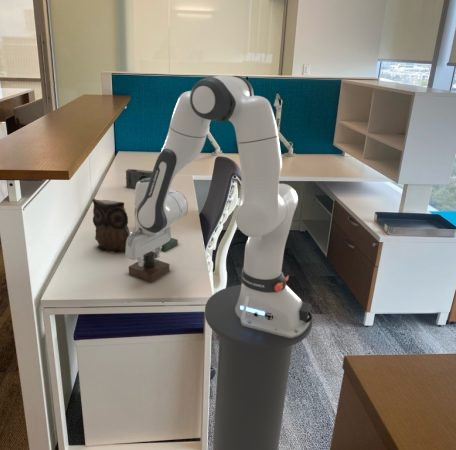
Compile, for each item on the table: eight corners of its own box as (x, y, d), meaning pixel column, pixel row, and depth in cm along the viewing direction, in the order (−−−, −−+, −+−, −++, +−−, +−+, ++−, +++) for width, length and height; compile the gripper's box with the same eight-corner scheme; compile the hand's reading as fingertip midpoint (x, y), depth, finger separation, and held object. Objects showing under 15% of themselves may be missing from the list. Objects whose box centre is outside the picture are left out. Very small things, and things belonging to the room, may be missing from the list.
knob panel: (169, 271, 157) (169, 263, 156) (151, 282, 149) (151, 274, 148) (147, 263, 162) (147, 255, 161) (128, 274, 154) (128, 266, 153)
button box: (177, 244, 178) (177, 235, 177) (165, 251, 172) (165, 242, 170) (158, 238, 183) (158, 229, 181) (145, 244, 177) (145, 235, 175)
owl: (132, 252, 170) (131, 202, 163) (99, 257, 165) (96, 206, 158) (123, 239, 181) (122, 192, 173) (92, 243, 176) (89, 195, 168)
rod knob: (157, 264, 155) (157, 252, 153) (150, 268, 152) (149, 256, 150) (148, 261, 157) (148, 249, 155) (141, 265, 154) (140, 253, 152)
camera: (124, 187, 244) (124, 170, 240) (127, 185, 248) (126, 168, 244) (153, 190, 241) (152, 172, 237) (155, 188, 245) (155, 171, 241)
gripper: (135, 236, 139) (136, 275, 144) (174, 218, 155) (173, 253, 160) (120, 231, 142) (121, 270, 147) (160, 213, 158) (160, 249, 163)
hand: (149, 261), depth 154 cm, fingers open, 6 cm apart
